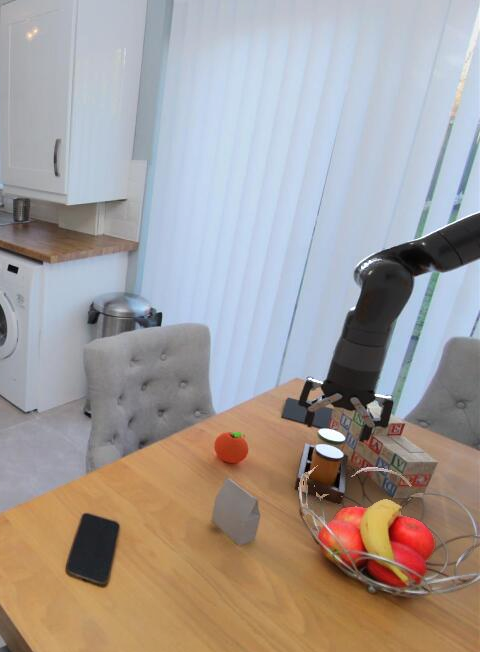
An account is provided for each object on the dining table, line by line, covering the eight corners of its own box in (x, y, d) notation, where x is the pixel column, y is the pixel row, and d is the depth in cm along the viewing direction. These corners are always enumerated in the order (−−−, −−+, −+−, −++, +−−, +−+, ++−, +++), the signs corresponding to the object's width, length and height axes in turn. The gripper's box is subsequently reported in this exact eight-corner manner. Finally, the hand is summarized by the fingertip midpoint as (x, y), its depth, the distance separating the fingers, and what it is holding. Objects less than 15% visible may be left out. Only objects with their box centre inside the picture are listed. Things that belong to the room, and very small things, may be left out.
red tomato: (227, 446, 116) (232, 421, 114) (255, 461, 111) (261, 436, 108) (205, 456, 113) (210, 431, 110) (232, 473, 107) (238, 447, 105)
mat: (349, 414, 127) (349, 412, 127) (347, 436, 118) (347, 434, 118) (287, 399, 135) (287, 397, 135) (280, 418, 127) (281, 416, 126)
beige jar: (335, 467, 108) (345, 433, 104) (333, 478, 104) (344, 444, 101) (309, 459, 110) (319, 426, 107) (307, 470, 107) (317, 436, 104)
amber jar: (333, 484, 103) (344, 449, 99) (331, 497, 99) (343, 461, 96) (306, 475, 105) (316, 441, 102) (303, 487, 102) (314, 452, 98)
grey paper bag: (239, 546, 89) (249, 503, 85) (211, 520, 95) (219, 479, 91) (254, 540, 90) (265, 498, 86) (225, 515, 96) (234, 475, 92)
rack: (344, 467, 108) (347, 455, 107) (340, 506, 97) (344, 493, 96) (301, 454, 113) (305, 442, 111) (293, 490, 102) (297, 477, 101)
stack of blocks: (423, 499, 98) (444, 449, 94) (392, 499, 98) (411, 449, 94) (350, 437, 118) (364, 393, 113) (324, 437, 118) (336, 394, 114)
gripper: (310, 358, 92) (291, 429, 98) (407, 378, 84) (380, 455, 90) (313, 345, 98) (295, 413, 104) (405, 363, 90) (379, 436, 96)
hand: (334, 432), depth 97 cm, fingers open, 8 cm apart
